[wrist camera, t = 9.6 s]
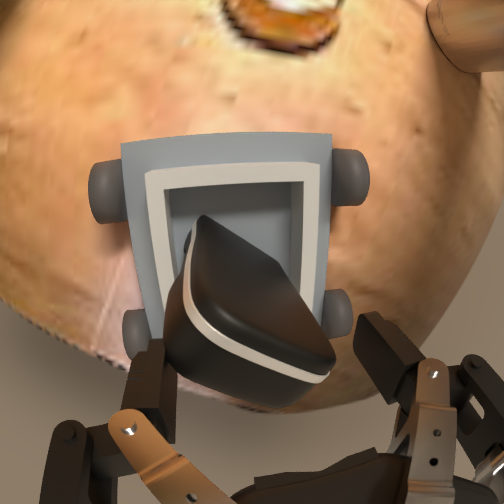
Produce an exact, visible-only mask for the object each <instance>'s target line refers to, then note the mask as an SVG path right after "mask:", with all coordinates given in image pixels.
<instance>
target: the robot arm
mask: <svg viewBox="0 0 504 504" xmlns="http://www.w3.org/2000/svg"><path fill="white" fill-rule="evenodd" d="M427 16H428V21H429V25H430V28H431V30H432V33H433V35H434V37H435V39H436V41H437V43H438V45H439V46H440V48H441V49H442V51H443V53H444V54H445V55H446V56H447V58H448V59H449V60H450V61H451V62H452V63H453V64H454V65H455V66H456V67H457V68H459V69H460V70H462V71H464V72H466V73H478V72H494V71H504V0H432V1H431V2H430V3H429V4H428V7H427ZM353 349H354V353H355V355H356V356H357V358H358V359H359V361H360V362H361V364H362V365H363V367H364V368H365V370H366V371H367V373H368V375H369V376H370V378H371V379H372V381H373V382H374V384H375V385H376V387H377V388H378V390H379V392H380V393H381V395H382V396H383V398H384V399H385V401H386V403H387V404H388V405H390V404H392V403H395V402H398V403H399V404H400V405H399V407H398V410H397V416H396V420H395V425H394V430H393V435H392V439H391V443H390V446H389V448H388V450H387V452H386V453H377V451H376V449H375V447H373V448H371V449H367V450H365V451H362V452H359V453H356V454H353V455H350V456H347V457H346V458H344V459H342V460H340V461H339V462H337V463H335V464H333V465H332V466H330V467H328V468H326V469H324V470H322V471H318V472H284V473H279V474H273V475H267V476H261V477H254V484H253V485H250V486H248V487H246V488H244V489H242V490H240V491H238V492H237V493H235V494H233V495H232V496H231V497H228V496H227V495H226V494H225V493H223V492H222V491H221V490H220V489H219V488H218V487H217V486H215V485H214V484H213V483H212V482H211V481H210V480H209V479H208V478H206V477H205V476H204V475H203V474H202V473H201V472H200V471H199V470H198V469H197V468H196V467H195V466H194V465H193V464H192V463H191V462H190V461H189V460H188V459H186V458H185V457H184V456H183V455H180V454H178V453H177V452H176V451H175V450H174V449H173V448H172V447H171V446H170V444H175V428H176V399H177V371H175V370H174V368H173V367H172V366H171V365H170V363H169V362H168V360H167V355H166V349H165V347H164V342H163V338H152V339H150V340H149V344H148V349H147V351H139V352H138V353H137V354H136V356H135V357H134V358H133V359H132V361H131V365H130V372H129V374H128V380H127V382H126V387H125V392H124V396H123V400H122V405H121V409H120V411H119V412H117V413H115V414H114V415H113V416H112V417H111V419H110V420H109V423H106V424H103V425H99V426H94V427H88V428H85V427H84V426H83V425H82V424H81V423H80V422H78V421H76V420H66V421H63V422H61V423H60V424H58V425H57V426H56V428H55V429H54V431H53V434H52V438H51V442H50V446H49V451H48V455H47V460H46V465H45V470H44V475H43V481H42V487H41V493H40V501H39V504H117V483H118V477H120V476H125V475H130V474H134V473H138V475H139V476H140V477H141V480H142V481H143V482H144V484H145V485H146V486H147V487H148V489H150V491H151V492H152V493H153V495H154V496H155V497H156V498H157V499H158V500H159V501H160V503H161V504H503V503H504V381H503V380H502V379H501V378H500V377H499V375H498V374H497V373H496V372H495V371H494V370H493V369H492V367H490V365H489V364H488V363H487V362H486V361H485V360H484V359H483V358H482V357H480V356H478V355H474V354H470V355H466V356H465V357H464V358H463V360H462V362H461V364H460V365H455V366H446V365H445V364H444V363H443V362H442V361H440V360H438V359H434V358H427V359H426V357H425V356H424V355H423V354H422V353H421V352H420V351H419V349H418V348H417V347H416V346H415V345H414V344H413V343H412V342H411V341H410V339H408V337H407V336H406V335H405V334H403V332H402V331H401V330H400V329H399V327H398V326H397V325H395V324H393V323H392V322H390V321H388V320H384V319H383V318H382V316H381V315H380V314H379V313H378V312H376V311H373V312H369V313H364V314H360V315H359V317H358V320H357V325H356V330H355V335H354V339H353ZM473 395H474V396H475V398H476V399H477V401H478V402H479V403H480V405H481V406H482V407H483V409H484V413H485V414H484V418H483V420H482V419H481V417H480V416H479V415H478V413H477V411H476V410H475V409H474V407H473V406H472V405H471V403H470V402H469V401H470V400H471V398H472V396H473ZM456 438H457V439H458V441H459V442H460V444H461V446H462V447H463V449H464V451H465V452H466V454H467V456H468V458H469V459H470V461H471V463H472V464H473V466H474V468H475V470H476V471H475V477H474V478H473V480H472V481H470V480H467V479H464V478H461V477H458V476H455V475H453V472H454V463H455V451H456Z"/></svg>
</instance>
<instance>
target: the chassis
mask: <svg viewBox="0 0 504 504" xmlns="http://www.w3.org/2000/svg"><path fill="white" fill-rule="evenodd" d="M121 157H122V160H121V159H117V160H111V161H105V162H99V163H95V164H94V165H93V167H92V169H91V171H90V175H89V182H88V195H89V203H90V207H91V211H92V214H93V216H94V218H95V220H96V221H97V222H98V223H99V224H107V223H115V222H124V221H126V220H127V218H128V222H129V229H130V236H131V242H132V248H133V254H134V259H135V265H136V270H137V275H138V280H139V285H140V289H141V294H142V298H143V303H144V307H145V309H138V310H127V311H126V312H125V314H124V317H123V323H122V334H123V342H124V347H125V350H126V353H127V355H128V357H129V358H130V359H131V360H132V359H133V358H134V357H135V356H136V354H137V353H138V352H139V351H147V349H148V344H149V340H150V339H152V338H163V327H164V317H165V309H166V303H167V298H168V293H169V290H170V288H171V286H172V284H173V283H174V281H175V279H176V278H177V276H178V275H179V273H180V271H181V267H182V263H183V259H184V256H185V254H184V243H185V240H186V238H187V235H188V233H189V232H190V230H191V229H192V225H193V223H194V222H195V221H197V220H198V218H199V217H200V216H201V215H206V216H208V217H210V218H211V219H213V220H214V221H216V222H218V223H219V224H221V225H222V226H224V227H225V228H227V229H229V230H230V231H232V232H233V233H235V234H236V235H238V236H240V237H241V238H243V239H244V240H246V241H247V242H249V243H251V244H252V245H254V246H255V247H257V248H258V249H260V250H261V251H263V252H264V253H266V254H268V255H269V256H271V257H272V258H274V259H275V260H277V261H278V262H279V264H280V265H281V267H282V268H283V270H284V272H285V273H286V275H287V277H288V278H289V280H290V281H291V283H292V284H293V285H294V287H295V288H296V290H297V291H298V293H299V294H300V296H301V297H302V299H303V300H304V302H305V303H306V305H307V306H308V308H309V309H310V311H311V312H312V314H313V316H314V317H315V319H316V320H317V322H318V324H319V325H320V327H321V329H322V330H323V332H324V333H325V335H326V337H327V339H332V338H337V337H341V336H346V335H348V334H349V333H350V331H351V329H352V325H353V311H352V305H351V302H350V299H349V297H348V295H347V294H346V292H345V291H344V290H342V289H335V290H328V291H325V283H326V272H327V260H328V247H329V232H330V214H331V204H332V205H334V206H358V205H361V204H362V203H363V202H364V200H365V199H366V197H367V194H368V191H369V185H370V173H369V167H368V164H367V161H366V159H365V157H364V155H363V154H362V153H361V152H360V151H358V150H352V149H336V148H335V149H332V134H321V133H299V132H236V133H214V134H198V135H186V136H175V137H166V138H157V139H149V140H141V141H134V142H128V143H121Z"/></svg>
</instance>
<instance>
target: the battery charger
mask: <svg viewBox="0 0 504 504" xmlns="http://www.w3.org/2000/svg"><path fill="white" fill-rule="evenodd" d="M184 254H185V256H184V259H183V263H182V267H181V271H180V273H179V275H178V276H177V278H176V279H175V281H174V283H173V284H172V286H171V288H170V290H169V293H168V298H167V303H166V309H165V317H164V327H163V342H164V347H165V349H166V355H167V360H168V362H169V363H170V365H171V366H172V367H173V368H174V370H175V371H177V372H178V373H179V374H181V375H182V376H183V377H185V378H187V379H189V380H191V381H193V382H195V383H198V384H200V385H203V386H205V387H208V388H211V389H213V390H216V391H218V392H221V393H224V394H227V395H229V396H232V397H235V398H238V399H242V400H245V401H248V402H252V403H256V404H259V405H263V406H267V407H271V408H283V407H287V406H291V405H292V404H294V403H295V402H297V401H298V400H299V399H300V398H302V397H303V396H304V395H305V394H306V393H307V392H308V391H309V390H310V389H311V388H313V387H314V386H315V385H316V384H317V383H320V382H322V381H323V380H324V379H325V378H326V377H327V376H328V375H329V374H330V370H331V369H332V368H333V366H334V365H335V363H336V355H335V352H334V350H333V348H332V346H331V344H330V342H329V340H328V339H327V337H326V335H325V333H324V332H323V330H322V329H321V327H320V325H319V324H318V322H317V320H316V319H315V317H314V316H313V314H312V312H311V311H310V309H309V308H308V306H307V305H306V303H305V302H304V300H303V299H302V297H301V296H300V294H299V293H298V291H297V290H296V288H295V287H294V285H293V284H292V283H291V281H290V280H289V278H288V277H287V275H286V273H285V272H284V270H283V268H282V267H281V265H280V264H279V262H278V261H277V260H275V259H274V258H272V257H271V256H269V255H268V254H266V253H264V252H263V251H261V250H260V249H258V248H257V247H255V246H254V245H252V244H251V243H249V242H247V241H246V240H244V239H243V238H241V237H240V236H238V235H236V234H235V233H233V232H232V231H230V230H229V229H227V228H225V227H224V226H222V225H221V224H219V223H218V222H216V221H214V220H213V219H211V218H210V217H208V216H206V215H201V216H200V217H199V218H198V220H197V221H195V222H194V223H193V225H192V229H191V230H190V232H189V233H188V235H187V238H186V240H185V243H184Z"/></svg>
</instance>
